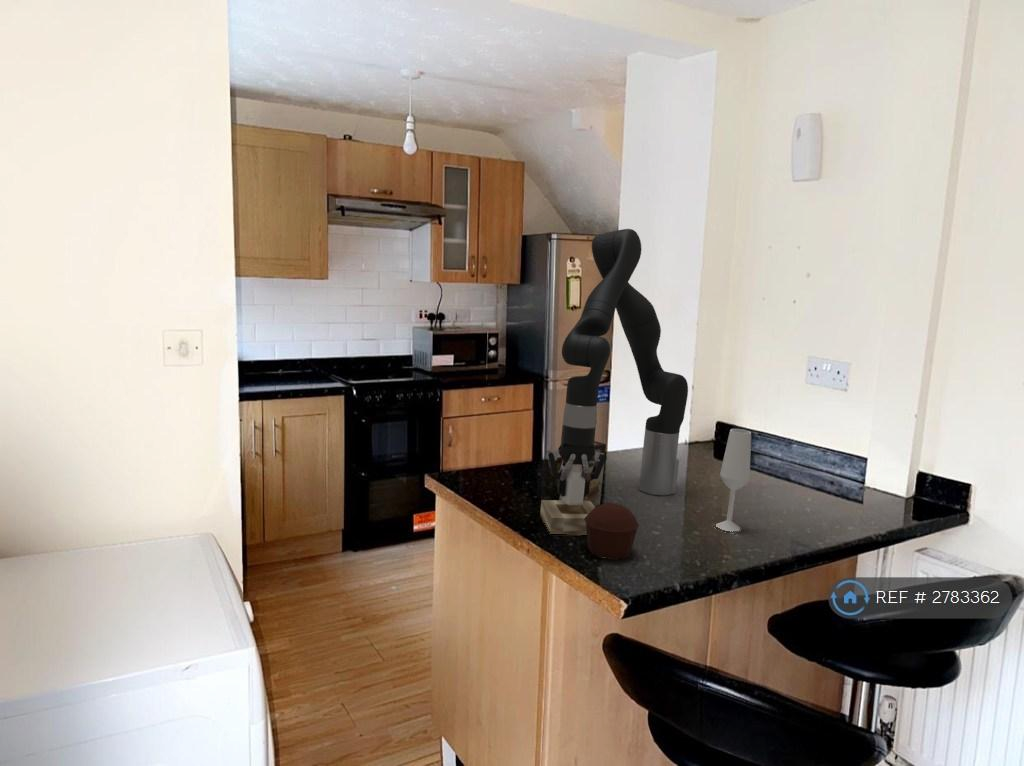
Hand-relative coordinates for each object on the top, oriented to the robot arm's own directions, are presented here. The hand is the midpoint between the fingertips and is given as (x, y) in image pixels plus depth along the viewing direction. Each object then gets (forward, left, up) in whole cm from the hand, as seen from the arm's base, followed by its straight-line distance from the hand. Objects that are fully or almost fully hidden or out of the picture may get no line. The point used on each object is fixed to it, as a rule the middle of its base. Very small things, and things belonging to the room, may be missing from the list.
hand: (572, 495), depth 160 cm
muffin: (-5, +15, -8) cm, 17 cm away
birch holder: (0, 0, -7) cm, 7 cm away
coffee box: (-6, -15, -8) cm, 18 cm away
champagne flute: (-39, 0, -8) cm, 40 cm away
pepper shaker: (0, 0, -2) cm, 2 cm away
